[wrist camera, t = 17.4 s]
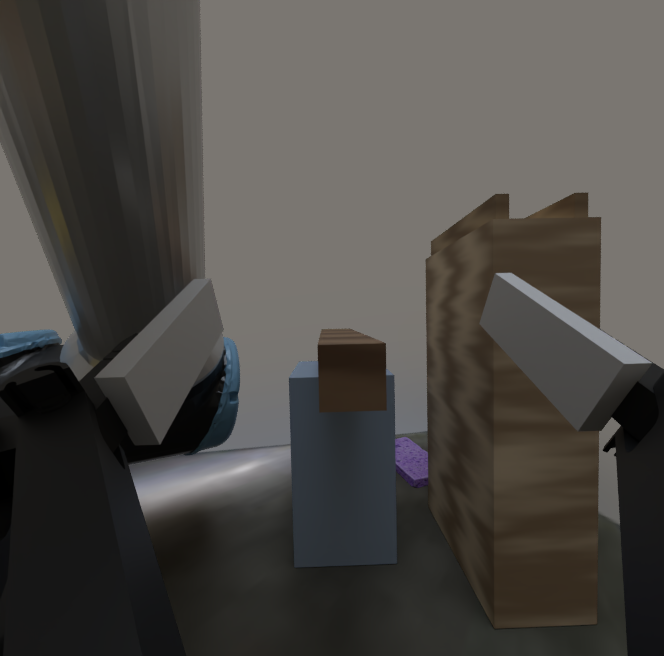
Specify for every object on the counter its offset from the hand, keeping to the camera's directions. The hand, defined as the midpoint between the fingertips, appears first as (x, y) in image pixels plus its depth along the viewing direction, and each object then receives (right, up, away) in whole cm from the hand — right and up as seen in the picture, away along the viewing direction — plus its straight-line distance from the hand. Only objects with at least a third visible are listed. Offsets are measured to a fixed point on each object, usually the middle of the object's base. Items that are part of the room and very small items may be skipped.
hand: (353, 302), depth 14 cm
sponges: (+12, -24, +33) cm, 43 cm away
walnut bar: (0, -6, +15) cm, 16 cm away
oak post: (+15, -24, +15) cm, 32 cm away
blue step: (0, -24, +19) cm, 31 cm away
